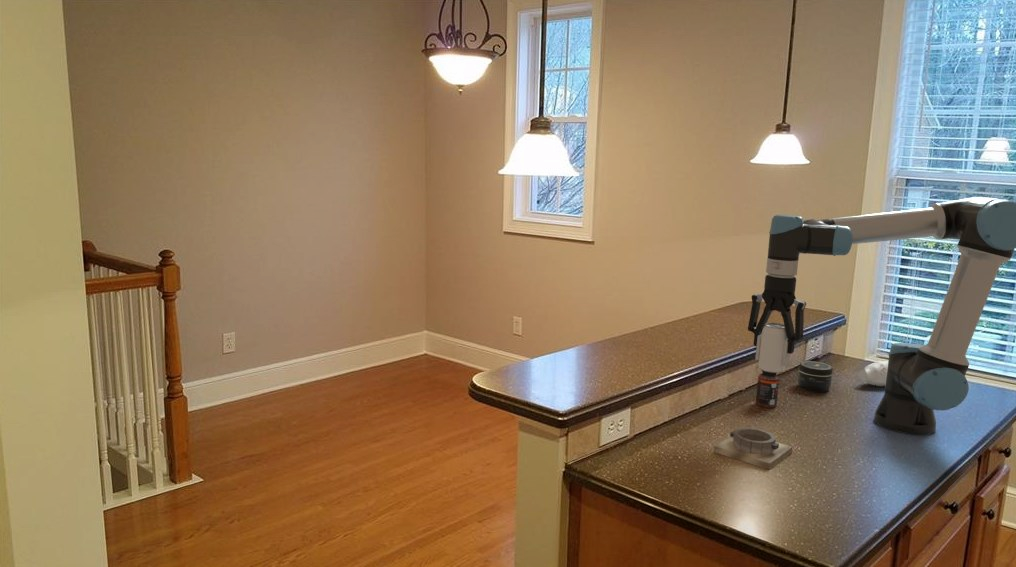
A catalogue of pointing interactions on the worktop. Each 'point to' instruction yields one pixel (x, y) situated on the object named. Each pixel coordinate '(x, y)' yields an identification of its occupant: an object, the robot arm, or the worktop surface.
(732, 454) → the grey ring holder base
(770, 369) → the can
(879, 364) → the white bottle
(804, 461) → the worktop surface
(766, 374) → the supplement bottle
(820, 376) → the jar
